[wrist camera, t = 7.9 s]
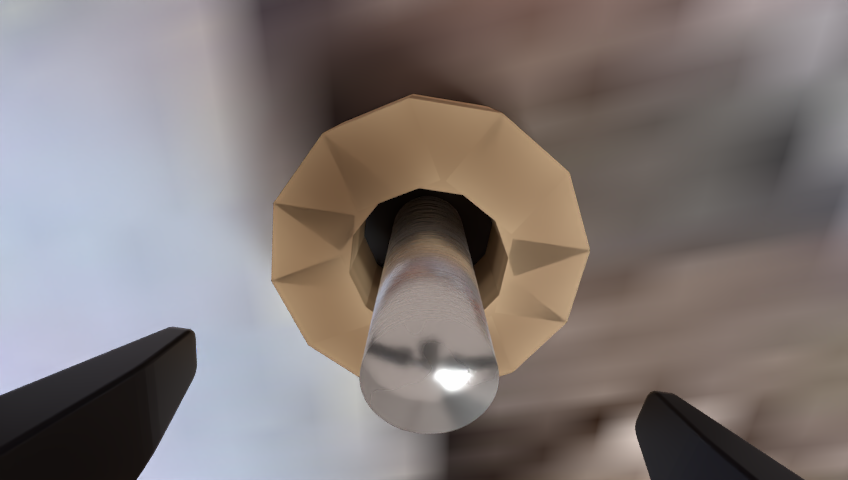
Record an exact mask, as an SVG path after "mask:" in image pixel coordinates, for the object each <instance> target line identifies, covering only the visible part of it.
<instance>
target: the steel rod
mask: <svg viewBox="0 0 848 480" xmlns="http://www.w3.org/2000/svg"><path fill="white" fill-rule="evenodd" d="M498 384H499V370H498V365H497V361H496V356H495V352H494V348H493V344H492V340H491V336H490V332H489V328H488V324H487V320H486V316H485V312H484V308H483V304H482V300H481V296H480V292H479V288H478V284H477V280H476V276H475V272H474V268H473V264H472V260H471V256H470V252H469V248H468V244H467V240H466V236H465V232H464V228H463V224H462V221H461V217H460V215H459V213H458V212H457V210H456V209H455V208H454V207H453V206H452V205H451V204H450V203H448V202H447V201H445V200H443V199H441V198H438V197H433V196H423V197H418V198H415V199H413V200H411V201H409V202H407V203H406V204H405V205H403V207H402V208H401V209H400V210H399V211H398V213H397V215H396V217H395V220H394V224H393V228H392V232H391V237H390V241H389V245H388V250H387V254H386V259H385V263H384V267H383V272H382V276H381V280H380V285H379V289H378V293H377V298H376V302H375V307H374V311H373V315H372V320H371V324H370V328H369V333H368V337H367V342H366V346H365V350H364V355H363V359H362V363H361V368H360V387H361V390H362V393H363V396H364V398H365V400H366V402H367V403H368V405H369V406H370V408H371V409H372V410H373V411H374V412H375V413H376V414H377V415H378V416H379V417H380V418H382V419H383V420H384V421H386V422H387V423H389V424H391V425H393V426H395V427H397V428H400V429H402V430H406V431H409V432H414V433H422V434H437V433H445V432H449V431H453V430H456V429H459V428H461V427H464V426H466V425H468V424H469V423H471V422H473V421H474V420H476V419H477V418H478V417H479V416H481V415H482V414H483V413H484V412H485V411H486V410H487V408H488V407H489V406H490V404H491V403H492V401H493V399H494V397H495V395H496V392H497V390H498Z"/></svg>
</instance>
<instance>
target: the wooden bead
mask: <svg viewBox="0 0 848 480" xmlns="http://www.w3.org/2000/svg"><path fill="white" fill-rule="evenodd" d="M418 188H422V189H428V190H435V191H441V192H448V193H454V194H461V195H464V196H465V197H466V198H467V199H469V200H470V201H471V202H472V203H474V204H475V205H476V206H477V207H479V208H480V209H481V210H482V211H484V212H485V213H486V214H487V215H489V216H490V218H491V221H492V227H491V231H490V236H489V240H488V244H487V249H486V253H485V255H484V256H483V257H482V258H481V259H480V260H479V261H478V262H477V263H476V264H475V265H474V266H473V268H474V272H475V276H476V280H477V284H478V288H479V292H480V296H481V300H482V304H483V308H484V312H485V316H486V320H487V324H488V328H489V332H490V336H491V340H492V344H493V348H494V352H495V356H496V361H497V365H498V370H499V376H502V375H505V374H509V373H512V372H514V371H515V370H516V369H517V368H518V367H519V366H520V365H521V364H522V363H523V362H524V361H525V360H527V359H528V358H529V357H530V356H531V355H532V354H533V353H534V352H535V351H536V350H537V349H538V348H540V347H541V346H542V345H543V344H544V343H545V342H546V341H547V340H548V339H549V338H550V337H551V336H553V335H554V334H555V333H556V332H557V331H558V330H559V329H560V328H561V327H562V326H563V325H564V324H566V323H567V320H568V317H569V314H570V311H571V308H572V305H573V302H574V298H575V295H576V292H577V289H578V286H579V283H580V280H581V277H582V274H583V271H584V268H585V265H586V261H587V258H588V255H589V252H590V249H589V245H588V241H587V237H586V233H585V230H584V226H583V222H582V218H581V214H580V211H579V207H578V203H577V199H576V195H575V192H574V188H573V184H572V180H571V177H570V173H569V172H568V171H567V170H566V169H565V168H564V167H563V166H562V165H560V164H559V163H558V162H557V161H556V160H555V159H554V158H553V157H551V156H550V155H549V154H548V153H547V152H546V151H545V150H544V149H542V148H541V147H540V146H539V145H538V144H537V143H536V142H535V141H533V140H532V139H531V138H530V137H529V136H528V135H527V134H525V133H524V132H523V131H522V130H521V129H520V128H519V127H518V126H516V125H515V124H514V123H513V122H512V121H511V120H510V119H509V118H507V117H506V116H505V115H504V114H503V113H501V112H499V111H497V110H494V109H492V108H490V107H488V106H483V105H477V104H471V103H465V102H459V101H453V100H447V99H441V98H435V97H429V96H423V95H417V94H411V95H409V96H406V97H404V98H401V99H399V100H397V101H394V102H392V103H389V104H387V105H384V106H382V107H380V108H377V109H375V110H372V111H370V112H367V113H365V114H362V115H360V116H358V117H355V118H353V119H350V120H348V121H345V122H343V123H341V124H339V125H337V126H335V127H333V128H331V129H330V130H328V131H326V132H324V133H322V135H321V136H320V138H319V139H318V140H317V142H316V143H315V145H314V146H313V148H312V149H311V150H310V152H309V153H308V155H307V156H306V158H305V159H304V160H303V162H302V163H301V165H300V166H299V168H298V169H297V170H296V172H295V173H294V175H293V176H292V178H291V179H290V180H289V182H288V183H287V185H286V186H285V187H284V189H283V190H282V192H281V193H280V195H279V196H278V197H277V199H276V200H275V202H274V203H273V241H272V277H271V281H272V283H273V285H274V286H275V288H276V290H277V292H278V293H279V295H280V297H281V298H282V300H283V302H284V304H285V305H286V307H287V309H288V311H289V312H290V314H291V316H292V318H293V319H294V321H295V323H296V325H297V326H298V328H299V330H300V332H301V333H302V335H303V337H304V338H305V340H306V342H307V344H308V345H309V346H311V347H312V348H314V349H315V350H317V351H318V352H320V353H322V354H323V355H325V356H326V357H328V358H329V359H331V360H333V361H334V362H336V363H337V364H339V365H341V366H342V367H344V368H345V369H347V370H348V371H350V372H352V373H353V374H355V375H356V376H358V377H359V378H360V368H361V363H362V359H363V355H364V350H365V346H366V342H367V337H368V333H369V328H370V324H371V320H372V315H373V311H374V307H375V302H376V298H377V293H378V289H379V285H380V280H381V276H382V272H383V268H382V267H381V266H379V265H378V264H377V263H376V260H375V258H374V256H373V254H372V252H371V250H370V248H369V245H368V243H367V241H366V239H365V237H364V232H365V223H366V218H367V217H368V216H369V215H370V213H371V212H372V211H373V210H374V208H375V207H376V206H377V205H378V203H381V202H384V201H386V200H389V199H392V198H394V197H397V196H400V195H402V194H405V193H407V192H410V191H413V190H415V189H418Z"/></svg>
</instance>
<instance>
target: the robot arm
mask: <svg viewBox="0 0 848 480" xmlns="http://www.w3.org/2000/svg"><path fill="white" fill-rule="evenodd" d="M196 368H197V356H196V337H195V333H194V331H192V330H191V329H186V328H178V327H169V328H166V329H163V330H161V331H158V332H156V333H154V334H151V335H149V336H146V337H144V338H141V339H139V340H136V341H134V342H131V343H129V344H126V345H124V346H121V347H119V348H116V349H114V350H111V351H109V352H107V353H104V354H102V355H99V356H97V357H94V358H92V359H89V360H87V361H84V362H82V363H79V364H77V365H74V366H72V367H69V368H67V369H64V370H62V371H60V372H57V373H55V374H52V375H50V376H47V377H45V378H42V379H40V380H37V381H35V382H32V383H30V384H27V385H25V386H22V387H20V388H17V389H15V390H13V391H10V392H8V393H5V394H3V395H0V480H137V478H138V477H139V475H140V474H141V472H142V471H143V469H144V468H145V466H146V465H147V463H148V462H149V460H150V458H151V457H152V455H153V454H154V452H155V450H156V448H157V446H158V445H159V443H160V441H161V439H162V437H163V435H164V434H165V432H166V430H167V428H168V426H169V424H170V422H171V420H172V418H173V416H174V414H175V413H176V411H177V409H178V407H179V405H180V403H181V401H182V399H183V397H184V395H185V393H186V392H187V390H188V388H189V386H190V384H191V382H192V380H193V378H194V376H195V373H196ZM635 430H636V436H637V439H638V442H639V445H640V448H641V451H642V454H643V457H644V460H645V463H646V466H647V470H648V473H649V476H650V479H651V480H804V479H803V478H801V477H800V476H798V475H797V474H795V473H793V472H792V471H790V470H789V469H787V468H786V467H784V466H783V465H781V464H780V463H778V462H777V461H775V460H774V459H772V458H771V457H769V456H768V455H766V454H765V453H763V452H762V451H760V450H759V449H757V448H756V447H754V446H752V445H751V444H749V443H748V442H746V441H745V440H743V439H742V438H740V437H739V436H737V435H736V434H734V433H733V432H731V431H730V430H728V429H727V428H725V427H724V426H722V425H721V424H719V423H718V422H716V421H715V420H713V419H711V418H710V417H708V416H707V415H705V414H704V413H702V412H701V411H699V410H698V409H696V408H695V407H693V406H692V405H690V404H689V403H687V402H686V401H684V400H683V399H681V398H680V397H678V396H677V395H675V394H672V393H667V392H660V391H652V392H650V393H649V394H648V396H647V398H646V400H645V402H644V404H643V407H642V409H641V411H640V413H639V416H638V418H637V420H636V425H635Z"/></svg>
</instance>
